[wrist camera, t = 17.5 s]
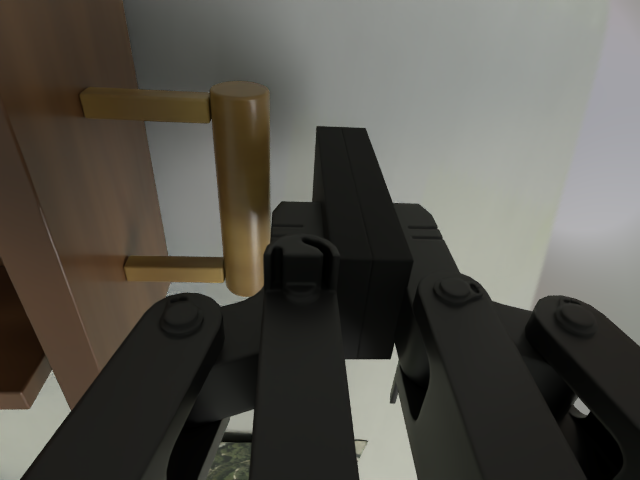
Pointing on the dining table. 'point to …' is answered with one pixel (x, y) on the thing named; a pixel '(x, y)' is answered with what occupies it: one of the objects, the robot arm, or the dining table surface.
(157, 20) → the dining table surface
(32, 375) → the drawer
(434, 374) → the robot arm
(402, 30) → the dining table surface
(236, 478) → the eiffel tower figurine
